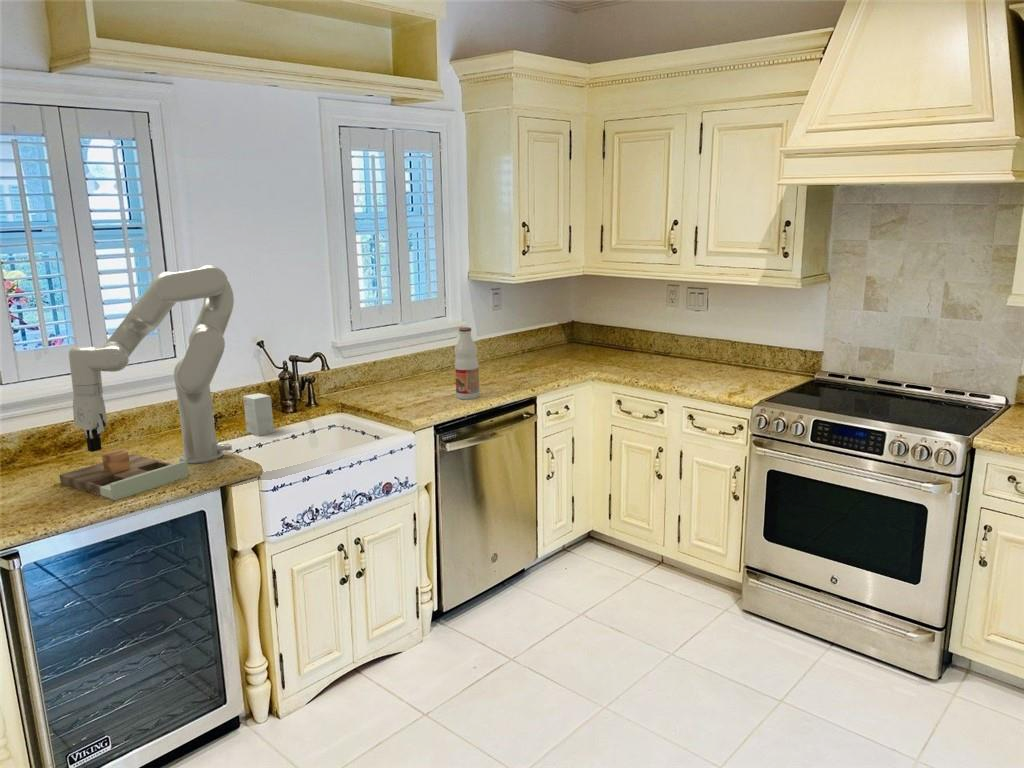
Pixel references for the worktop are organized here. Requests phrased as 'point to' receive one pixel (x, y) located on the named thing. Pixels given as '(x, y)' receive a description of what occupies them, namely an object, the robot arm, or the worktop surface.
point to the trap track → (108, 474)
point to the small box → (258, 414)
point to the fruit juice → (466, 366)
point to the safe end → (145, 481)
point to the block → (116, 461)
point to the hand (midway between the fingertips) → (94, 450)
